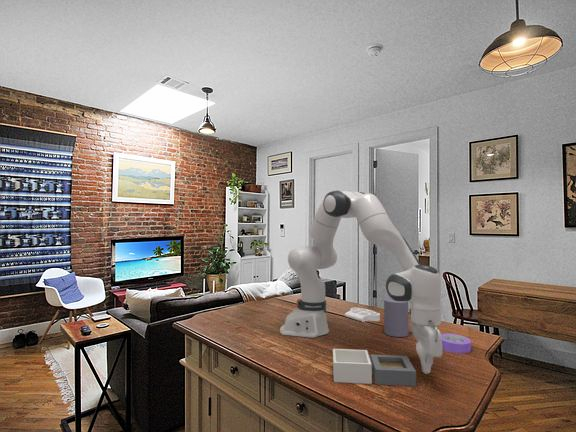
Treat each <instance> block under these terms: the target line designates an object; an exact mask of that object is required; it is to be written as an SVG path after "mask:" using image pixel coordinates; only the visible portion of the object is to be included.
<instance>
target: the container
mask: <svg viewBox="0 0 576 432" xmlns="http://www.w3.org/2000/svg"><path fill="white" fill-rule="evenodd" d="M383 314H384V315H383V319H384V320H383V323H384V324H383V327H384V328H383V329H384V332H383V333H384V334H385V335H387V336H389V337H393V338H404V337H408V336H409V334H410V333H409V327H410V326H409V301H402V302H401V301H395V300H393V299H392V298H391V297H385V298H384V299H383Z"/></svg>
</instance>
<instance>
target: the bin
mask: <svg viewBox="0 0 576 432" xmlns="http://www.w3.org/2000/svg"><path fill="white" fill-rule="evenodd" d="M332 373H333V382H334V383H343V384H344V383H345V384H346V383H347V384H365V385H366V384H368V385H371V384H372V383H373V382H372V381H373V377H372V376H373V374H372V364H371V357H370V355H369V351H368V350H367V349H348V348H347V349H346V348H332Z"/></svg>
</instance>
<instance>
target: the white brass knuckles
mask: <svg viewBox="0 0 576 432" xmlns="http://www.w3.org/2000/svg"><path fill="white" fill-rule="evenodd" d="M344 317H346V318H350V319H352V320H356V321H359V322H362V323H366V322H379V321H381V313H379V312H376V311H375V310H371V309H368V308H360V307H351V308H350V309H349V311H347V312H345V313H344ZM365 321H366V322H365Z"/></svg>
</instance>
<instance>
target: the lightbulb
mask: <svg viewBox="0 0 576 432" xmlns="http://www.w3.org/2000/svg"><path fill="white" fill-rule="evenodd" d="M415 351H416V353H417V355H418V357H419V359H420V360H419V361H420V365H421V371H422V373H424V374H425V375H429V374H430V373H431V368H432V365H427V363H426V356H427V354H426V351H425V349H424V348H423V347H422V344H421V342H420V341H417V342H416V344H415Z"/></svg>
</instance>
